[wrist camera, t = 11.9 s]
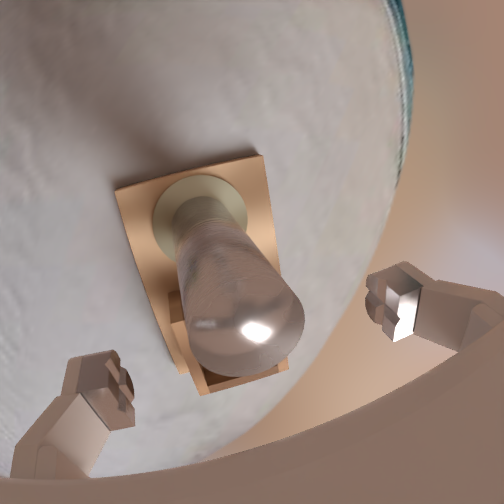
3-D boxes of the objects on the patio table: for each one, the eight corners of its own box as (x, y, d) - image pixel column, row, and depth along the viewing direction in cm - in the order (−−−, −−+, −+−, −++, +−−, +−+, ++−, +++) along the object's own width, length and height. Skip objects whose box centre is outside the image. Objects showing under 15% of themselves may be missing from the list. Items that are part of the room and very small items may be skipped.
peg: (164, 204, 20) (173, 300, 9) (224, 189, 21) (299, 264, 10) (179, 260, 22) (205, 388, 11) (235, 245, 22) (307, 356, 12)
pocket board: (116, 189, 20) (104, 206, 15) (258, 154, 22) (284, 162, 17) (178, 366, 27) (185, 408, 22) (285, 335, 28) (307, 371, 24)
